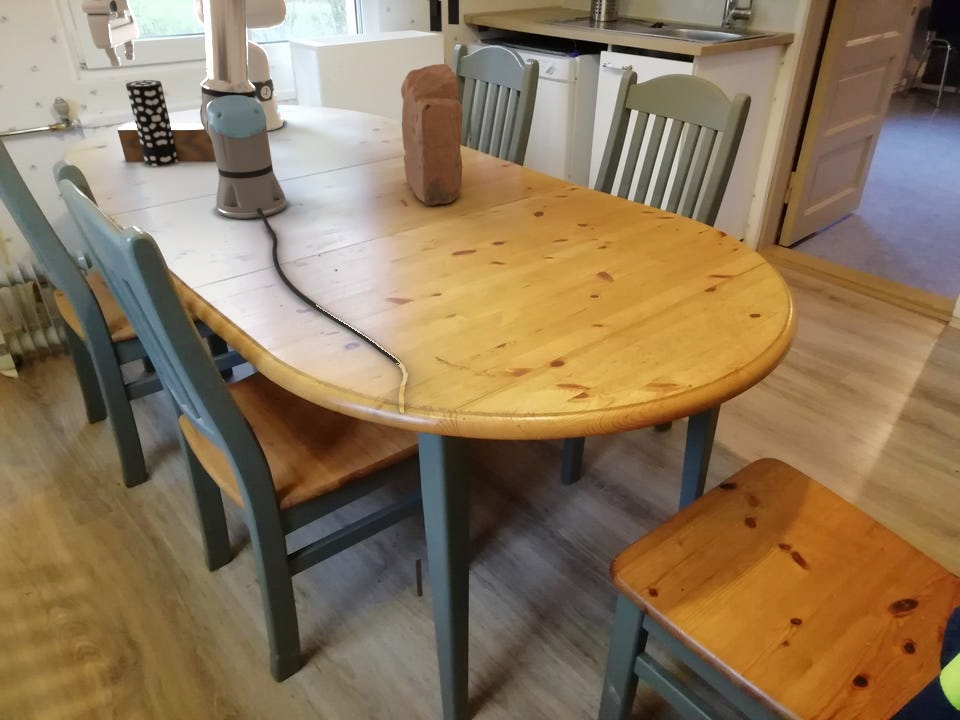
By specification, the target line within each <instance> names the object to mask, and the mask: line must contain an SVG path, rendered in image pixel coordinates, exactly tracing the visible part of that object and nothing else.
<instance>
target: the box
mask: <svg viewBox="0 0 960 720" xmlns="http://www.w3.org/2000/svg"><path fill="white" fill-rule="evenodd" d="M170 124H171V131H172V135H173V139H174V144H175V148H176V153H177V157H178V162H183V163H185V162H216V156H215V151H214V146H213V142H212V140H211V138H210V136H209V135H208V133H207V132H206V130H205V129H204V127H203V125H202V123H170ZM117 133H118V138H119V141H120V145H121V148H122V153H123V156H124V160H125V162H126V163H127V162H128V163H132V162H135V163H137V162H139V163H141V162H142V163H145V159H144V155H143V151H142V147H141V143H140V139H139V135H138V131H137V127H136V123H125V124H124V125H122V126H120V127H119V128H118V129H117ZM178 162H177V163H178Z"/></svg>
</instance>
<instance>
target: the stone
mask: <svg viewBox="0 0 960 720" xmlns="http://www.w3.org/2000/svg"><path fill="white" fill-rule="evenodd" d="M400 92H401V97H402V109H401V133H402V145H403V150H404V155H403V164H404V165H403V166H404V175H405V177H406V181H407V183H408V184H409V187H410V189H412V191H413V193H414V195H415V196H416V197H417V198H418V200H419V201H422V203H423V205H425V206H436V205H447V204H449V203H452V202H454V200H455V199H457V198H459V197H460V192H461V189H462V185H463V178H462V177H463V159H462V154H461V152H462V151H461V144H462V129H463V119H464V118H463V117H464V108H463V104H461V103H460V100H459V84H458V81H457V76H456V73H455V72H453V70H452V68H451V67H450V65H448V64H446V63H440V64H432V65H428V66H424V67H422V68H418V69H413V70H410V71H409V72H408V73H407V75H406V76H405V78H404V80H403V82H402V85H401V87H400Z"/></svg>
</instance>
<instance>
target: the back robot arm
mask: <svg viewBox="0 0 960 720" xmlns="http://www.w3.org/2000/svg"><path fill="white" fill-rule="evenodd" d="M80 7H81V11H82V13H83V14H85V15H86V16H85V17H86V24H87V27H88V31H89V34H90V37H91V41H92V43H93V45H94V46H95V47H96V48H97V49H99V50H104V53H106V55H107V57H108V58H109V61H110V65H111V66H112V67H113V68H114V67H116V68H117V67H120V66H121V65H122V62H121V58H120V57H119V56H118V54H117V48H116V47H119V46H121V45H124V50H125V52H124V56H125V60H128V61H134V60H135V59H136V55H135V42H134V40H136V39H138V38H140V30H139V27H138V23H137V20H136V16H135V13H134V11H133V8H131V7H130V3H129V0H83V1H82V2H81V4H80ZM193 12H194V15H195V17H196V20H197V21H198V23H199V24H201V26H202V27H203V28H205V18H204V1H203V0H193ZM287 15H288V9H287V3H286V0H246V28H247V31H249V30H269V29H273V28H277V27H280V26H283V24H284V23H285V20H286V18H287ZM247 61H248V80H249V82H250V83H251V84H252V85H253V86H254V87H255V97H256V100H258V101H259V102H260V103H261V104H262V106H263V110H264V113H265V115H266V127H267V132H268V131H269V132H270V131H272V130H277V129H280V128H282V127H283V125H284V122H285V118H284V117H282V113H281V108H282V107H281V105H279V100H278V97H277V95H276V94H275V93H274V90H275V88H274V86H275V85H274V82H273V78H272V77H271V70H270V64H269V56H268V53H267V51H266V50H265V49H264V47H262V46H261V45H259V44H258V43H255V42H253V41H251V40H249V39H247Z"/></svg>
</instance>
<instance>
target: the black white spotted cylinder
mask: <svg viewBox="0 0 960 720" xmlns="http://www.w3.org/2000/svg"><path fill="white" fill-rule="evenodd" d="M125 87H126V91H127V95H128V99H129V103H130V107H131V110H132V115H133V118H134V122H135V123H134V124H136V127H137V131H138V135H139V139H140V143H141V147H142V151H143V155H144V159H145V162H144V163H145V164H146V165H147V166H151V167H164V166H170V165H174V164H176V163H178V157H177V153H176V148H175V144H174V139H173V135H172V131H171V124H172V123H171V121H170V116H169V111H168V107H167V103H166V98H165V93H164V89H163V84H162V81H161V80H155V79H154V80H153V79H151V80H150V79H145V80H144V79H141V80H134V81H130V82H129V81H128V82H127V83H126V84H125Z"/></svg>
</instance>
